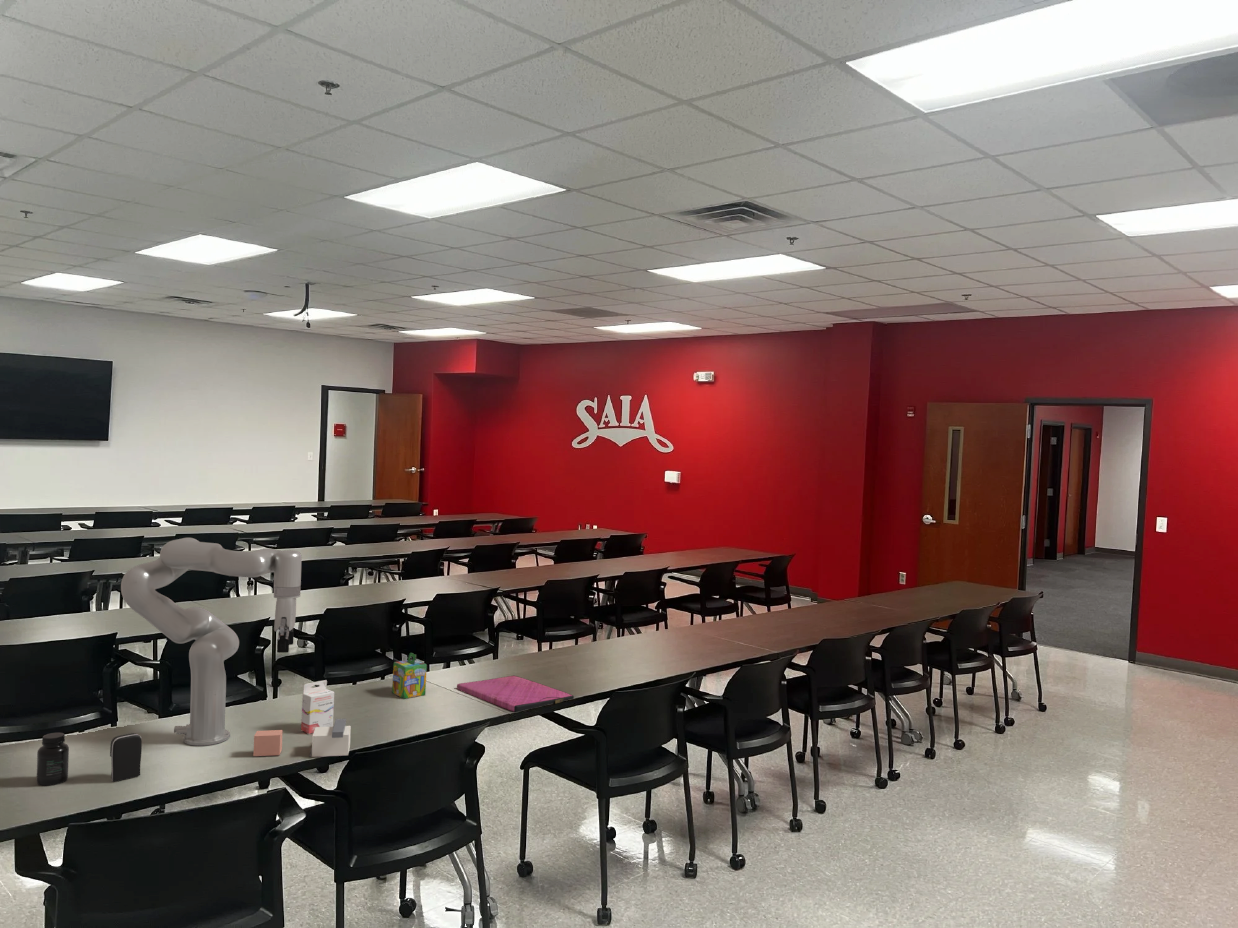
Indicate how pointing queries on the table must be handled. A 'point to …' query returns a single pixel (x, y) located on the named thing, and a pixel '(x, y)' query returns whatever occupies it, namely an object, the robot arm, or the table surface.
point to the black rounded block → (125, 756)
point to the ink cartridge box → (317, 707)
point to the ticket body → (331, 740)
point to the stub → (268, 743)
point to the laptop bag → (514, 693)
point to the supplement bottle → (52, 760)
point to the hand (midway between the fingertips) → (285, 648)
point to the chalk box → (409, 678)
